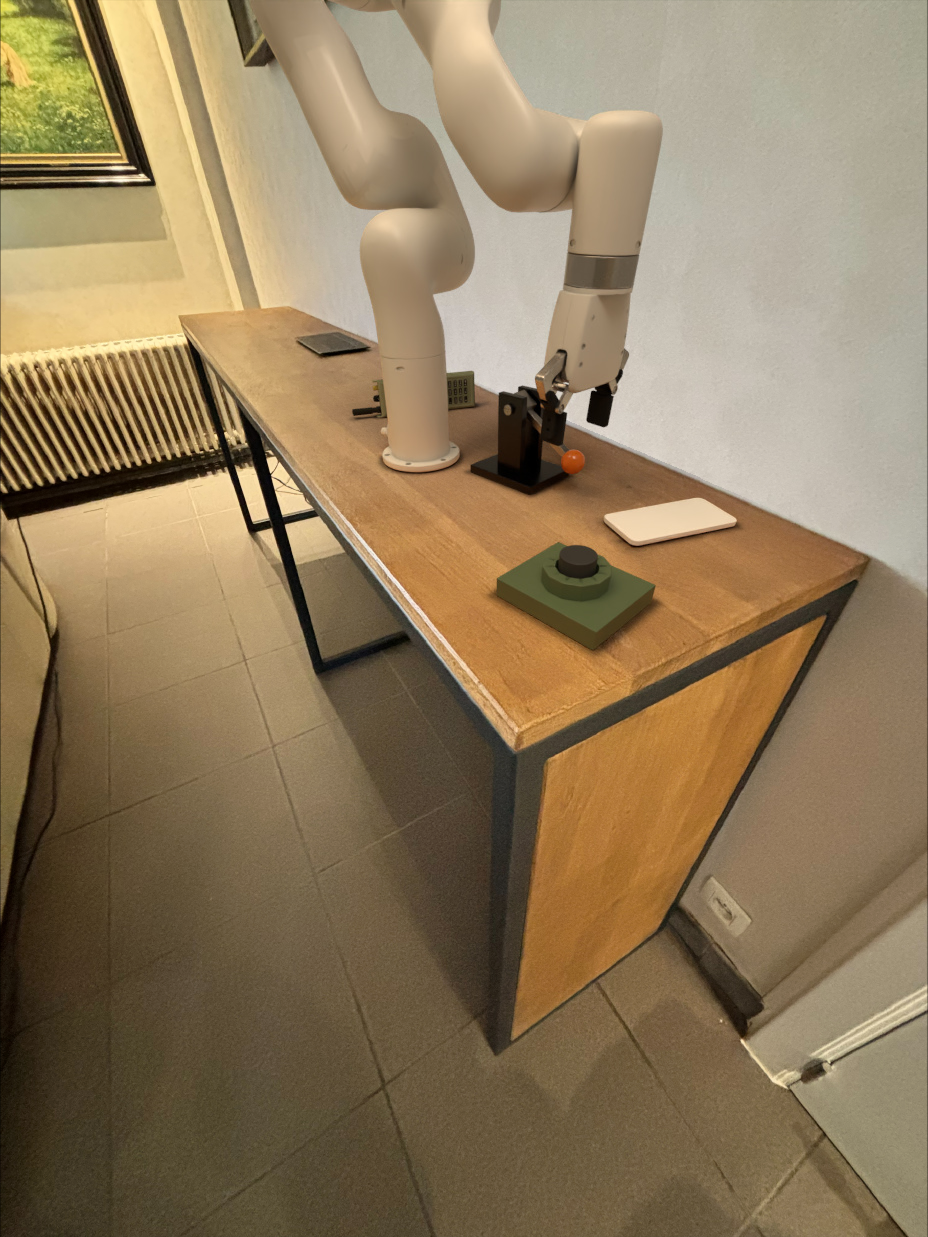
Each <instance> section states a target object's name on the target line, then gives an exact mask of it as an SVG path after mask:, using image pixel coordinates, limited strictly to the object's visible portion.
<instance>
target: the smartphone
mask: <svg viewBox="0 0 928 1237" xmlns="http://www.w3.org/2000/svg"><path fill="white" fill-rule="evenodd" d="M603 522H604V523H605V525H607V526H608V527H609V528H610V529H611V530H613V531H614V532H615V533H616V534H618V535H619V536H620V537H621V538H622V539H623V540H625V542H627V543H628V544H629V545H632V546H643V545H644V546H645V545H648V544H654V543H659V542H664V541H668V540H673V539H678V538H682V537H688V536H693V535H699V534H702V533H703V534H704V533H706V532H707V533H708V532H713V531H717V530H722V529H726V528H732V527H735V526H736V523H737V518H736V517H735V516H733V515H731V514H730V513H728V512H726V511H724V510H723V509H721V508H720V507H718V506H716V505H715V504H713V503H712V502H710V501H708V500H706V499H705V498H702V497H694V498H693V497H692V498H687V499H682V500H675V501H671V502H666V503H665V502H664V503H660V504H655V505H648V506H643V507H638V508H632V509H627V510H621V511H615V512H610V513H606V514H604V516H603Z"/></svg>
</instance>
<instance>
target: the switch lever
mask: <svg viewBox="0 0 928 1237" xmlns="http://www.w3.org/2000/svg"><path fill="white" fill-rule="evenodd" d="M513 394H517V395H521V396H525V397H527V416H526V418H527V419H528V421H529V422H530V423H531V424H532V425H533V426H534V427H535V428H536V429H537V431H538V432H539V433H540V434H541V427H542V419H541V418H540V417H539V416H538V415H537V413H536V412H535V411H534V408H535V407H536V405H537V403H536V402H535V401H534V400H533V399H532V398H531V396H530V395H529V394H528V393H527V392H526V391H525V390H522V391H519V392H518V391H516V392H514V393H513ZM548 444H549V445H550V446H551V448H552V449H553V450H554V451H555V452H556V453H557V454H558V455H559V456H560V457H561V459H560V466H562V469H563V470H564V471H565V472H566V473H568V474H569V475H575V474H578V473H580V472H581V471H582V470H583V469H584V467H585V465H586V458H585V455H584V453H583V452H581V451H580V450H578V449H569V447H567V446H566V444H565V443H564V442H563V444H562V445H560V446H556V445H553V444H550V443H548Z"/></svg>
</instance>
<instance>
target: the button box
mask: <svg viewBox="0 0 928 1237" xmlns="http://www.w3.org/2000/svg"><path fill="white" fill-rule="evenodd" d="M567 546H568V545H567V544H564V543H562V542H560V541H557V542H555V543H554V544H552V545H551V546H549V547H547V548H545V549H544V550H542V551H540V552H539V553H537V554H534V555H533V556H532V557H530V558H529V559H527V560H525V561H524V562H522V563H520V564H518V565H516V566H515V567H513V568H512V569H509V570H508V571H506V572H505V573H503V574H501V575H500V576H497V577H496V592H495V594H496V595H495V596H497V597H499V598H500V599H501V600H503V601H505V602H507V603H508V604H511V605H512V606H514V607H516V608H518V609H519V610H521V611H523V612H524V613H526V614H528V615H530V616H532V617H533V618H536V620H539V621H541V622H542V623H544V624H545V625H547V626H549V627H551V628H553V629H555V630H556V631H558V632H559V633H562V634H563V635H565V636H566V637H568V638H570V639H572V640H573V641H575V642H577V643H579V644H581V645H583V646H584V647H586V648H588V649H590V650H591V651H594V650H595V649H597V648H598V647H599V646H600V645H602V644H603V643H604V642H605V641H607V640H608V639H609V638H610V637H612V635H614V634H615V633H616V632H617V631H619V630H620V629H622V627H624V626H625V625H627V623H629V622H630V621H631V620H632V619H634V617H636V616H637V615H638V614H639V613H641V612H642V611H643V610H644V609H646V608H647V607H648V606H649V605H650V604H652V603H653V602H652V601H653V598H654V594H655V591H656V584H654V583H652V582H650V581H648V580H646V579H643V578H641V577H639V576H636V575H634V574H632V573H629V572H627V571H625V570H623V569H620V568H619V567H616V566H614V565H612V564H611V563H610V562H609V561H608V560H607V559H606V558H605V557H604V556H603V555H601V554H598V560H597V566H596V572H595V574H594V575H593V576H592V577H589V578H583V579H577V578H570V577H567V576H565V575H563V574H561V573H560V572H559V570H558V563H559V554H560V551H561V550H562V549H563V548H564V547H567Z"/></svg>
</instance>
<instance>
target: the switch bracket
mask: <svg viewBox="0 0 928 1237" xmlns="http://www.w3.org/2000/svg"><path fill="white" fill-rule="evenodd" d="M522 390H525V391H526V392H527V393H528V394H529V395H530V396H531V398H532V399H533V400H534V401H535V402H536V403H537V405H536V407H535V408H534V411H535V412H536V413H537V415H538V416H539V417H540V418H541V419H542V418H543V408H541V402H540V401H539V399H538V397H537V393H538V392H537V388H535V387H531V386H527V385H519V386H517V392H519V391H522ZM497 408H498V411H497V453H496V454H494V455H491V456H489V457H486V458H483V459H480V460H478V461H476V462H474V463H471V464H470V470H469V471H470V473H472V474H475V475H478V476H479V477H483V478H486V479H487V480H490V481H492V482H495V483H498V484H500V485H503V486H505V487H508V488H511V489H513V490H515V491H518V492H521V493H523V494H526V495H528V496H530V495H532V494H535V493H537V492H539V491H541V490H543V489H546V488H547V487H549V486H551V485H553V484H555V483H558V482H560V481H562V480H564V479H565V478H569V476H570V474H568V473H566V472H565V471H564V470H563V469H562V466H561V464H557V463H554V462H551V461H548V460H545V459H543V445H544V441H542V440H541V438H540V435H541V434H540V433H539V432H538V431H537V429H536V428H535V427H534V426H533V425H532V424H531V423H530V422H529V421H528V419H527V418H526V416H527V397H525V396H521V395H517V394H514V393H512V392H508V391H500V392H498V406H497Z"/></svg>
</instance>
